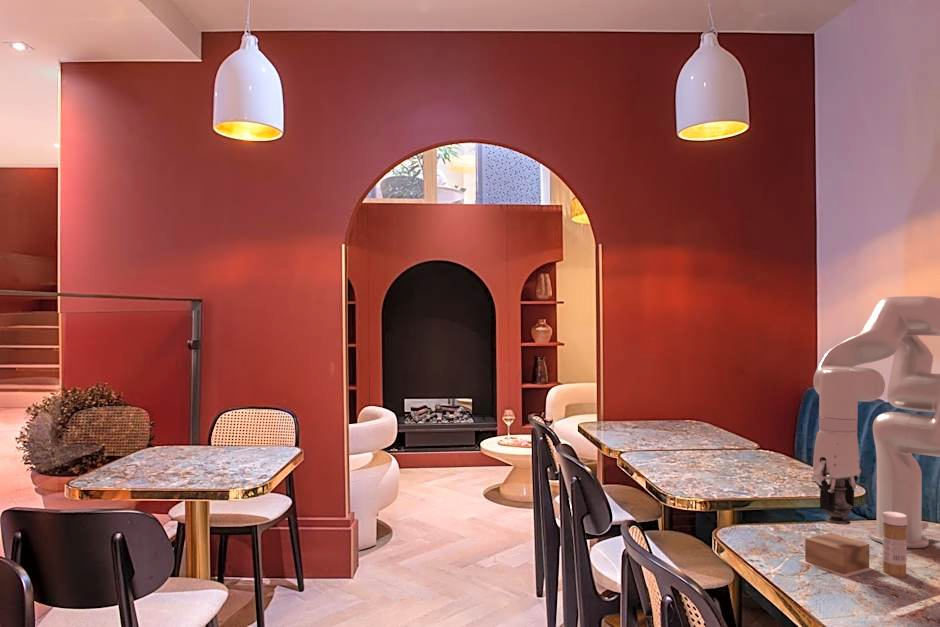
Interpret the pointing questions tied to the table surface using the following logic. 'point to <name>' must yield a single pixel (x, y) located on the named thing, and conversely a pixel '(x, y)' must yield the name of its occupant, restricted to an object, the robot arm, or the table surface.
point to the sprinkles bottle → (894, 543)
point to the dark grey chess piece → (839, 505)
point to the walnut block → (837, 553)
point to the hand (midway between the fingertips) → (837, 507)
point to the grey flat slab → (837, 572)
